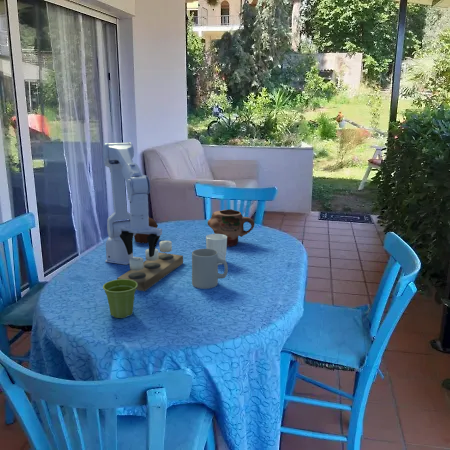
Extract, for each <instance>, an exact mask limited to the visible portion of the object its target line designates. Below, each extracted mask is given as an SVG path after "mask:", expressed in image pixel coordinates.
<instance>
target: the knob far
mask: <svg viewBox="0 0 450 450" xmlns="http://www.w3.org/2000/svg"><path fill="white" fill-rule="evenodd" d="M158 242H159V243H158V244H159V252H160V253H171V252H172V250H173V244H172V243H173V242H172V241H171V240H161V241H158Z"/></svg>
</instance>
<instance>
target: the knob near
mask: <svg viewBox="0 0 450 450" xmlns="http://www.w3.org/2000/svg"><path fill="white" fill-rule="evenodd" d="M133 257H134V258H131V259H130V263H129V269H130V270H134V271H138V270H142V269H143V268H144V257H140V256H133Z"/></svg>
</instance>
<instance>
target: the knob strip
mask: <svg viewBox="0 0 450 450" xmlns="http://www.w3.org/2000/svg"><path fill="white" fill-rule="evenodd" d="M158 255H159V259H158V260H155V261H148V260H146V259H145V260H143V262H144V268H143V269H142V270H138V271H134V270H131V269H130V270H128V271H126V272H125V273H123V274H122V275H120V276H119V277H116V278H117V279H116V280H118V279H128V280H133V281H135V282H137V284H138V286H137V288H136V291H141V292H146V291H147V290H148V289H150V288H151V287H153V286H154V285H155V284H158V282H160V281H161V280H162V279H163V278H165V277H166V276H168V275H169V274H171V273H172V272H173V271H174V270H176V269H178V268H179V267H180V266H182V265H183V264H184V255H182V254H181V255H179V254H174V253H168V252H161V251H158Z"/></svg>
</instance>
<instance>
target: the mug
mask: <svg viewBox="0 0 450 450" xmlns="http://www.w3.org/2000/svg"><path fill="white" fill-rule="evenodd" d="M218 263H222V264H221V265H223V266H224V272H223V273H219V265H218ZM228 269H229V266H228V261H227V260H224V259H222V258H218V252H217V251H216V250H213V249H207V248H198V249H193V251H192V253H191V284H192V286H193V287H195V288H196V289H202V290H203V289H205V290H209V289H213V288H215V287H216V286H218V284H219V279H225V278H226V277H227V275H228V272H229V270H228Z"/></svg>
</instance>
